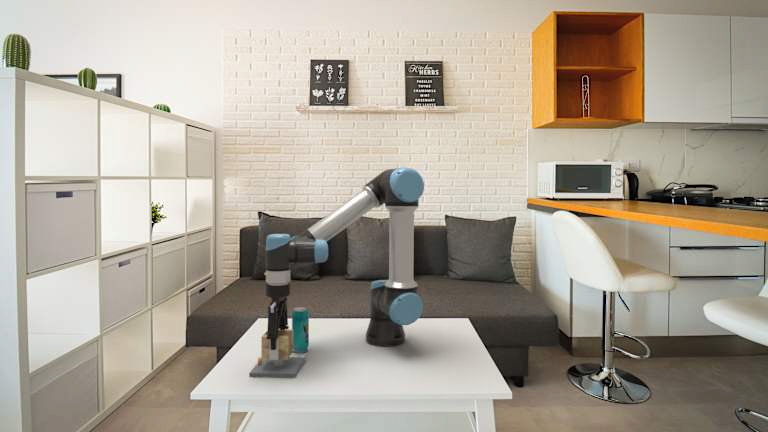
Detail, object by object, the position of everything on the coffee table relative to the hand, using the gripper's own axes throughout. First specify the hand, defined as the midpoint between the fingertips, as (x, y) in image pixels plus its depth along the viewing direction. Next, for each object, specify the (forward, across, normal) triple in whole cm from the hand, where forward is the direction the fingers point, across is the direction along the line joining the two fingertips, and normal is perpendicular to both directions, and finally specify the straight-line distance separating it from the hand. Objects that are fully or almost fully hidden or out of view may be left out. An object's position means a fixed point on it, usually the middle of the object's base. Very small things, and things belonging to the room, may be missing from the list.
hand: (278, 354), depth 143 cm
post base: (+5, 0, 0) cm, 5 cm away
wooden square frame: (0, 0, 0) cm, 0 cm away
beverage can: (+5, -17, +3) cm, 18 cm away
